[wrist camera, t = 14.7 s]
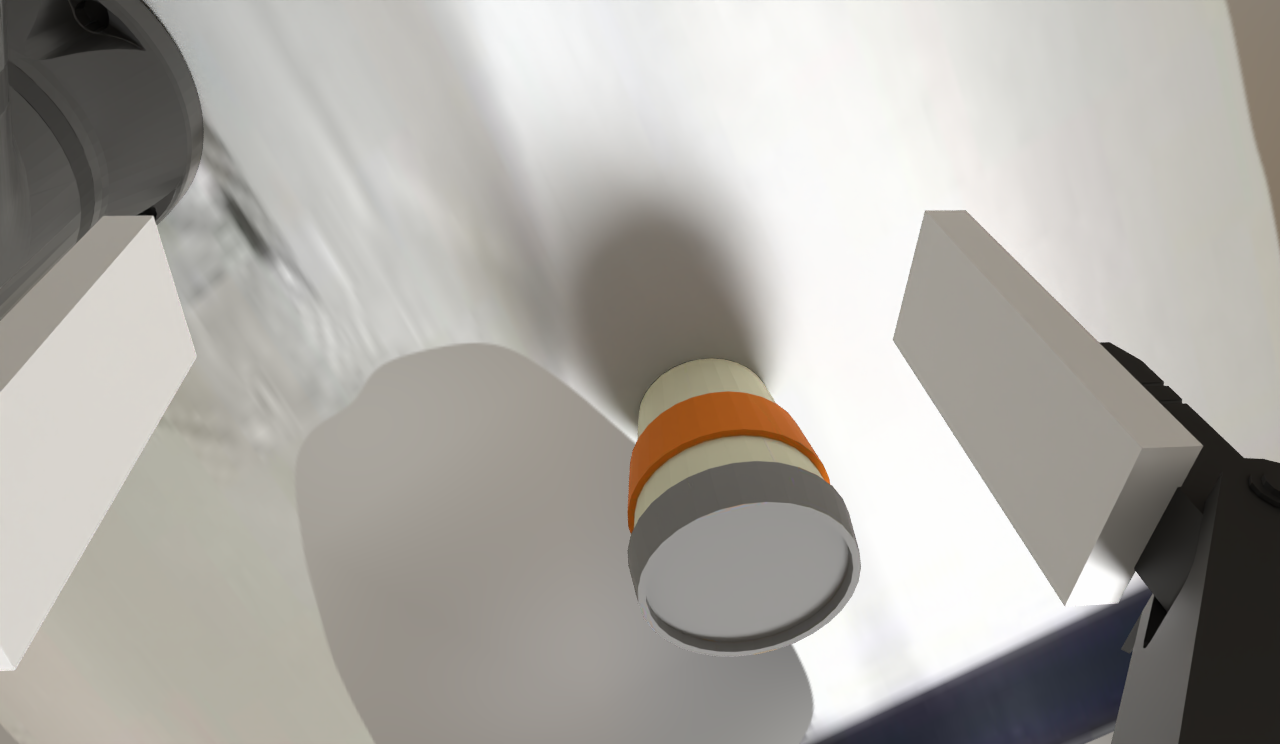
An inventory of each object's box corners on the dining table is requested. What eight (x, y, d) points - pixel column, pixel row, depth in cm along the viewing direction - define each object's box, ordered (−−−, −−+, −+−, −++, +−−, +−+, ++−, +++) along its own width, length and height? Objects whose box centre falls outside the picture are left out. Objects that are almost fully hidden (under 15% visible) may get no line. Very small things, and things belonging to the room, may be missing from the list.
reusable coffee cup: (581, 453, 58) (593, 632, 46) (664, 307, 52) (703, 468, 40) (737, 501, 62) (786, 677, 50) (831, 371, 56) (913, 535, 44)
